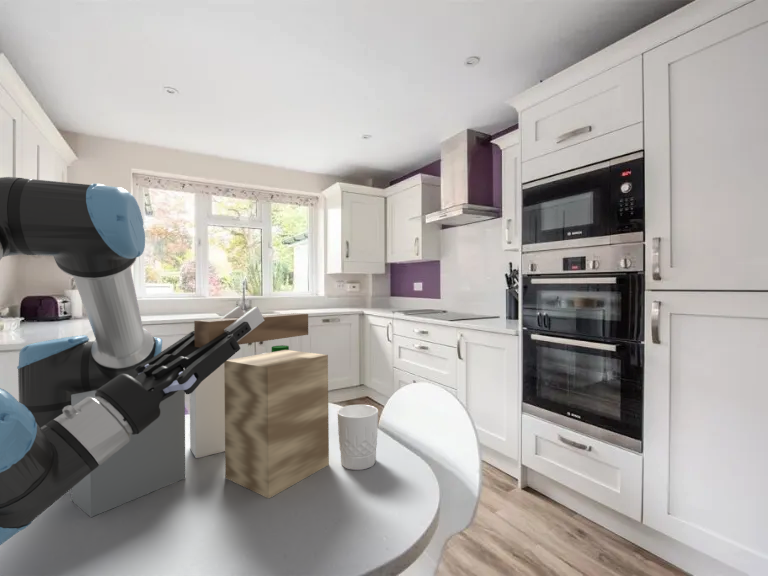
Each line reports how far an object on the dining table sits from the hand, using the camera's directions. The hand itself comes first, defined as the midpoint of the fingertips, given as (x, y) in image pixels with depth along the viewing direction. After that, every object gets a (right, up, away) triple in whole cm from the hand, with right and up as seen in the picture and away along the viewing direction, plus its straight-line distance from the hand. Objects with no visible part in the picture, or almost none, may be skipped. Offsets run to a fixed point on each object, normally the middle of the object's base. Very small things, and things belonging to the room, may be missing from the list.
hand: (250, 313), depth 64 cm
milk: (-14, -30, +15) cm, 37 cm away
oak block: (+3, -30, +6) cm, 30 cm away
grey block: (-20, -30, 0) cm, 36 cm away
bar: (+1, -5, +1) cm, 5 cm away
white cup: (+18, -30, +9) cm, 36 cm away
